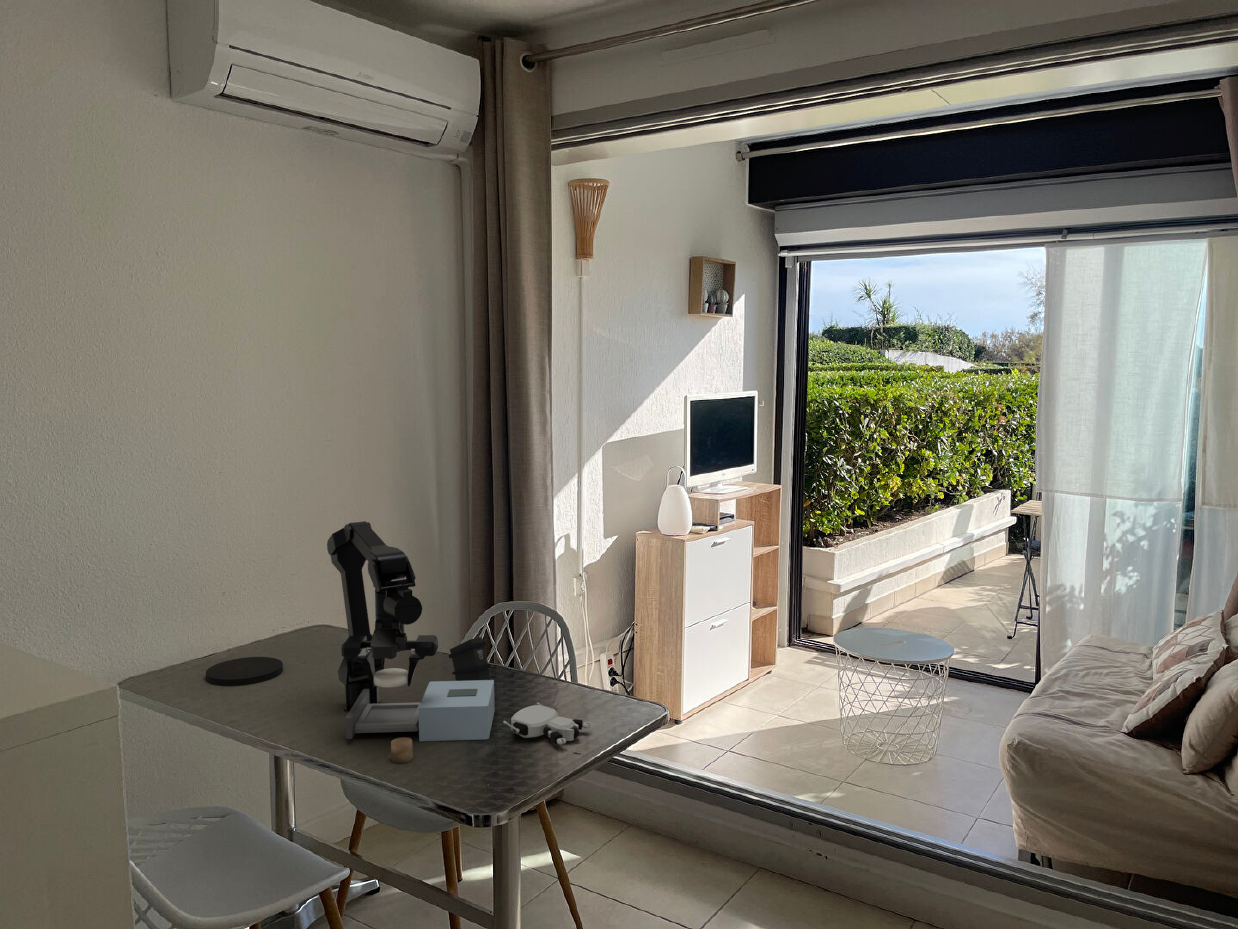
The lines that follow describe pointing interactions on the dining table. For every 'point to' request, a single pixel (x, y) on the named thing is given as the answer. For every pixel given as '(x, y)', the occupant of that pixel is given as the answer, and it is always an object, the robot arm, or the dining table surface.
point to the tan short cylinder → (401, 750)
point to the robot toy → (545, 724)
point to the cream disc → (391, 677)
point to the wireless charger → (244, 671)
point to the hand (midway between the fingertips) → (391, 686)
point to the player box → (456, 710)
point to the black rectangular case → (470, 661)
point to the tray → (381, 717)
